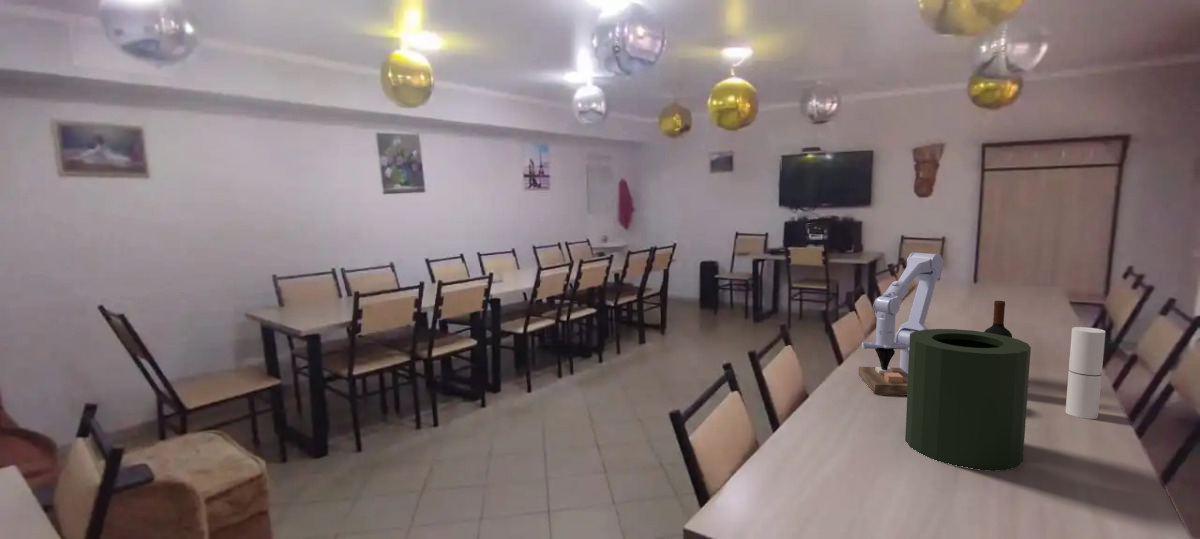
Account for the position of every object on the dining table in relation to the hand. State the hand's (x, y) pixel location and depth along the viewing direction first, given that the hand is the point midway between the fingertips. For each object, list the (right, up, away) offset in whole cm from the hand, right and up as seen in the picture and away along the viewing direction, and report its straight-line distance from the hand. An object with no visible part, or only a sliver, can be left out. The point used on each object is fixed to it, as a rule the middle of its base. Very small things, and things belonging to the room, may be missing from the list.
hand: (884, 369), depth 193 cm
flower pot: (-7, -11, -52) cm, 53 cm away
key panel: (-1, -5, -4) cm, 7 cm away
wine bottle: (+29, -5, -13) cm, 32 cm away
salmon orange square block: (-2, -3, -9) cm, 10 cm away
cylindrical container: (+41, -7, -33) cm, 53 cm away
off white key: (0, -3, 0) cm, 3 cm away
